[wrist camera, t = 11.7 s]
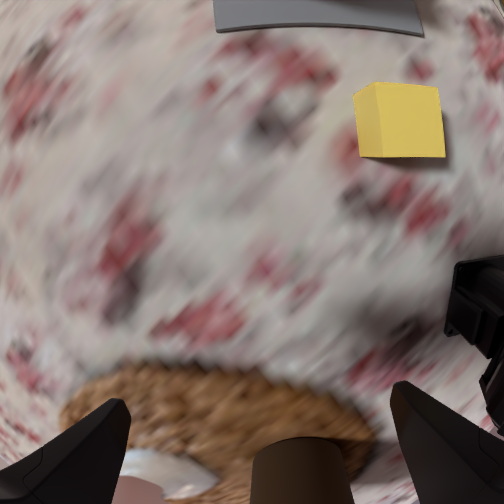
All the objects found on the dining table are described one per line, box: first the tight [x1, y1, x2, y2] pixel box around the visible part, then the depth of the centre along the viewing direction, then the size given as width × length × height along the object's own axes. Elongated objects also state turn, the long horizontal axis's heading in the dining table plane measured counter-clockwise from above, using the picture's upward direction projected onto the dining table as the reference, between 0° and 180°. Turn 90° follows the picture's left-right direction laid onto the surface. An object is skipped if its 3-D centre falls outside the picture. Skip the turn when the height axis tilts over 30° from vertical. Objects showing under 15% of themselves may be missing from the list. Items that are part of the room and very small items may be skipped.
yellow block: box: [353, 82, 445, 157], centre depth 15 cm, size 4×4×4 cm
